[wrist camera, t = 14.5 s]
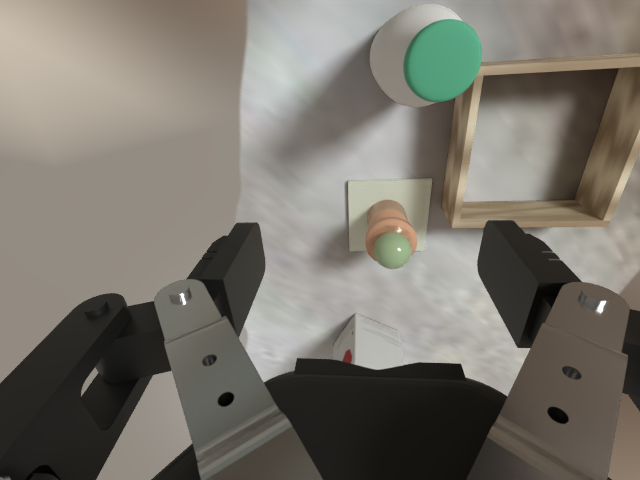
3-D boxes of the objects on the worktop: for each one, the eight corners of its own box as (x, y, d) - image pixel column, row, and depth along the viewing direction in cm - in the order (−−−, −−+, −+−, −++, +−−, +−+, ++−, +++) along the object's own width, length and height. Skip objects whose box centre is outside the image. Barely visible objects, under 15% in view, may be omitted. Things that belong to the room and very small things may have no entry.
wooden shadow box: (459, 63, 38) (476, 66, 32) (632, 53, 36) (679, 54, 30) (441, 207, 46) (451, 228, 41) (578, 205, 44) (608, 226, 39)
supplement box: (354, 311, 57) (354, 389, 44) (400, 330, 58) (413, 411, 45) (331, 344, 62) (324, 423, 49) (374, 361, 63) (379, 443, 50)
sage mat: (348, 180, 46) (348, 181, 45) (431, 178, 44) (432, 179, 44) (349, 249, 51) (349, 251, 51) (423, 249, 50) (424, 251, 49)
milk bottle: (386, 105, 40) (408, 149, 23) (357, 40, 37) (358, 36, 20) (449, 69, 38) (527, 89, 21) (424, -3, 35) (490, -50, 18)
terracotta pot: (364, 197, 46) (366, 236, 37) (410, 196, 45) (425, 236, 36) (364, 236, 49) (366, 282, 40) (407, 236, 48) (420, 283, 39)
